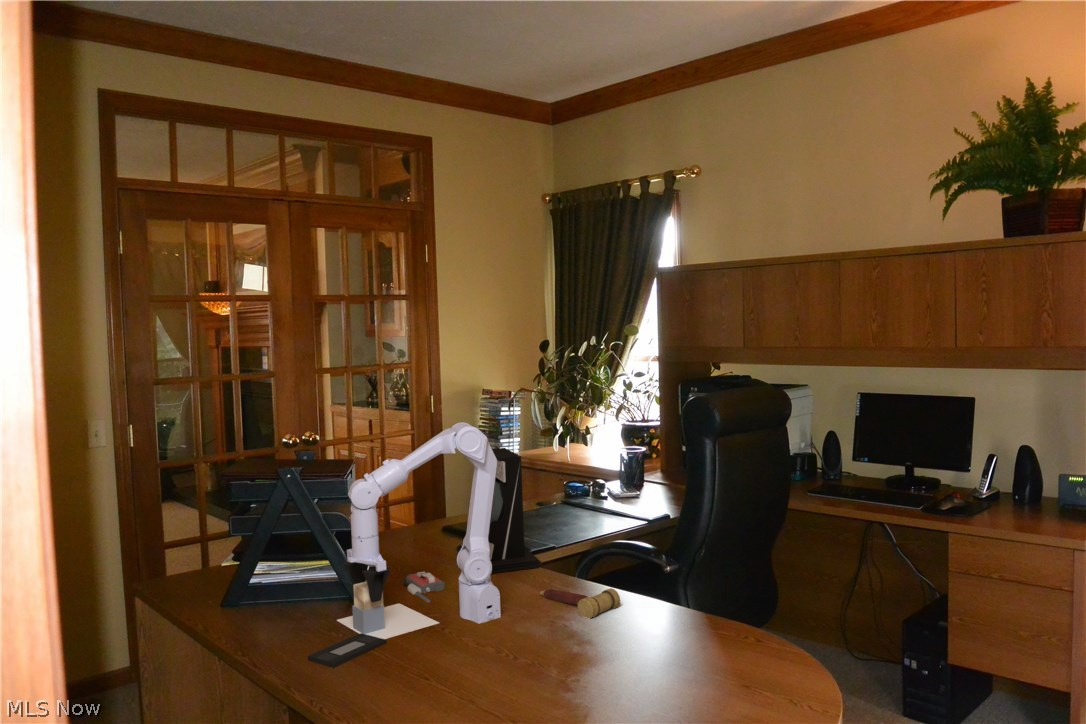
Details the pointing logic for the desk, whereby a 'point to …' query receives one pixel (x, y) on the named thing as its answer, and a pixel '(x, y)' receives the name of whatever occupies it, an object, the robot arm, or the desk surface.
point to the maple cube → (364, 597)
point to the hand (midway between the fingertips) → (367, 597)
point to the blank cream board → (396, 621)
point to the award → (508, 517)
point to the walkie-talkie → (423, 584)
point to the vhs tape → (346, 650)
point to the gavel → (586, 601)
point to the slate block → (368, 619)
